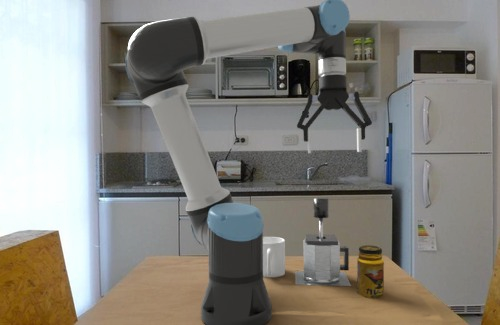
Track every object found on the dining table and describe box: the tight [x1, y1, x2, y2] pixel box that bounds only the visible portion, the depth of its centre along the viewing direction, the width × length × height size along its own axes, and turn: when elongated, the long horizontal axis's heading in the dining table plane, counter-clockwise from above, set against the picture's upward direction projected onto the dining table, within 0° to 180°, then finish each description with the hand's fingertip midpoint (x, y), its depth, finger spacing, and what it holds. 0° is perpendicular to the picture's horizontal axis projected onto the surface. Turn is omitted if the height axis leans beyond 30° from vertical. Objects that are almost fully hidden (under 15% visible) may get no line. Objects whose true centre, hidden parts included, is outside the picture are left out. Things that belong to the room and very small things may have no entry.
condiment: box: [356, 244, 385, 299], centre depth 89 cm, size 7×8×12 cm
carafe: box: [302, 233, 350, 284], centre depth 100 cm, size 12×10×11 cm
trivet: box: [294, 270, 352, 287], centre depth 100 cm, size 14×11×1 cm
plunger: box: [312, 197, 330, 239], centre depth 100 cm, size 7×7×19 cm
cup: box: [263, 236, 286, 278], centre depth 103 cm, size 8×12×10 cm
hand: (334, 152), depth 102 cm, fingers open, 13 cm apart
